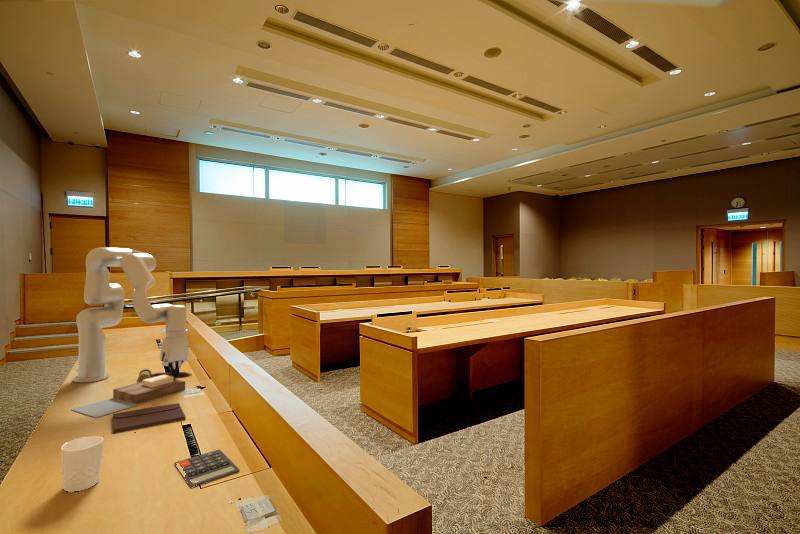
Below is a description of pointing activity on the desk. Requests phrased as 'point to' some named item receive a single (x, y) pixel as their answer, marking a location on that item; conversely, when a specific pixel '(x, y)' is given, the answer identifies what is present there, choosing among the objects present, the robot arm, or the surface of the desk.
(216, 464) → the calculator
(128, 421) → the notebook
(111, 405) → the mat
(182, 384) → the brown wooden board
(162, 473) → the desk surface
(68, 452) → the white cup
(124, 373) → the desk surface
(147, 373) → the gavel
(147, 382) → the cream flat block
